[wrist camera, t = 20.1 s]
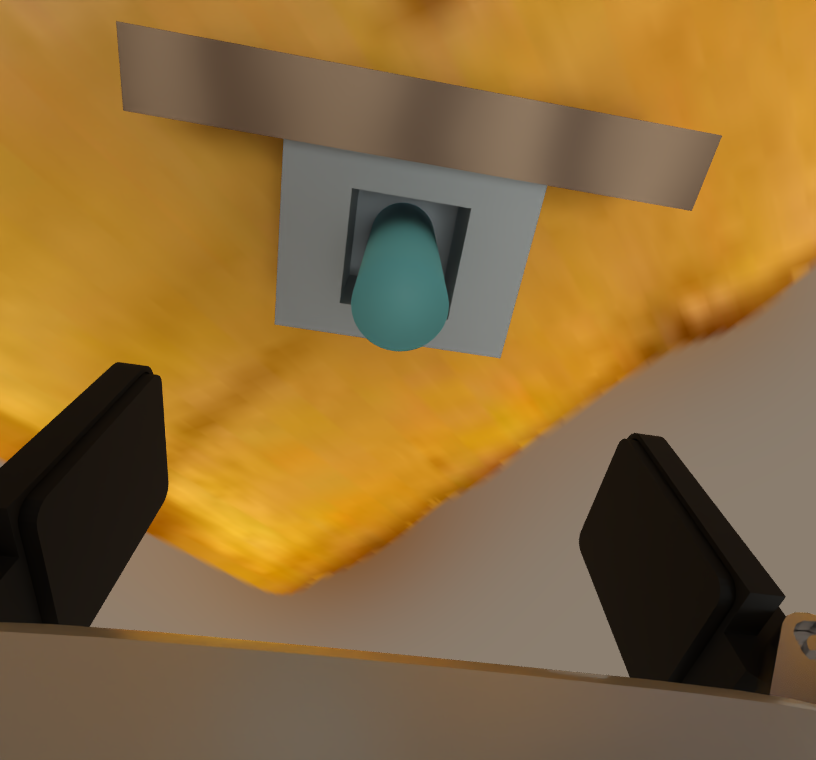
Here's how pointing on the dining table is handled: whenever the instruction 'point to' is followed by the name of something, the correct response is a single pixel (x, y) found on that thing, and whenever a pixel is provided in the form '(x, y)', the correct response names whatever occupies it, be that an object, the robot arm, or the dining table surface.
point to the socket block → (352, 222)
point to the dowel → (400, 281)
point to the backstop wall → (409, 118)
